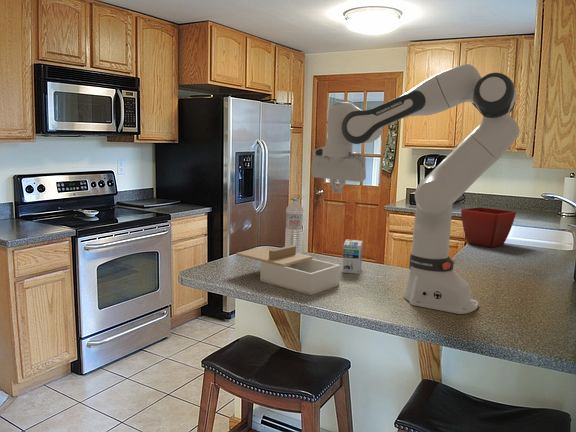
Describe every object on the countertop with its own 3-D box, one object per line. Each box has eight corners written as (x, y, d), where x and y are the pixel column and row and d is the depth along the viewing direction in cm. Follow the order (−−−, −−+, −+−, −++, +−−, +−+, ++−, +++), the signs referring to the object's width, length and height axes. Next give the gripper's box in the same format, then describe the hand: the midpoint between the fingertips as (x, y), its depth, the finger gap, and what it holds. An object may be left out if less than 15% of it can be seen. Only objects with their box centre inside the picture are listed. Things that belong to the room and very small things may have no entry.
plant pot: (477, 238, 260) (480, 206, 257) (513, 245, 246) (517, 211, 243) (457, 242, 248) (460, 209, 245) (494, 250, 234) (497, 214, 231)
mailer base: (339, 285, 171) (340, 265, 170) (310, 295, 159) (311, 274, 158) (290, 272, 185) (290, 253, 184) (260, 281, 173) (260, 261, 172)
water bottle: (303, 258, 206) (306, 198, 202) (297, 262, 200) (299, 200, 196) (288, 256, 209) (290, 197, 205) (281, 260, 203) (283, 198, 199)
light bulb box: (359, 274, 185) (361, 245, 184) (341, 272, 187) (343, 244, 185) (361, 267, 196) (363, 240, 194) (344, 265, 197) (345, 239, 195)
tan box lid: (312, 258, 177) (312, 248, 177) (282, 266, 165) (282, 255, 165) (266, 248, 191) (267, 238, 191) (236, 255, 179) (236, 244, 179)
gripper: (370, 153, 164) (368, 195, 166) (320, 150, 177) (318, 189, 179) (360, 153, 159) (357, 196, 161) (309, 150, 172) (308, 190, 174)
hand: (337, 192), depth 170 cm, fingers closed
